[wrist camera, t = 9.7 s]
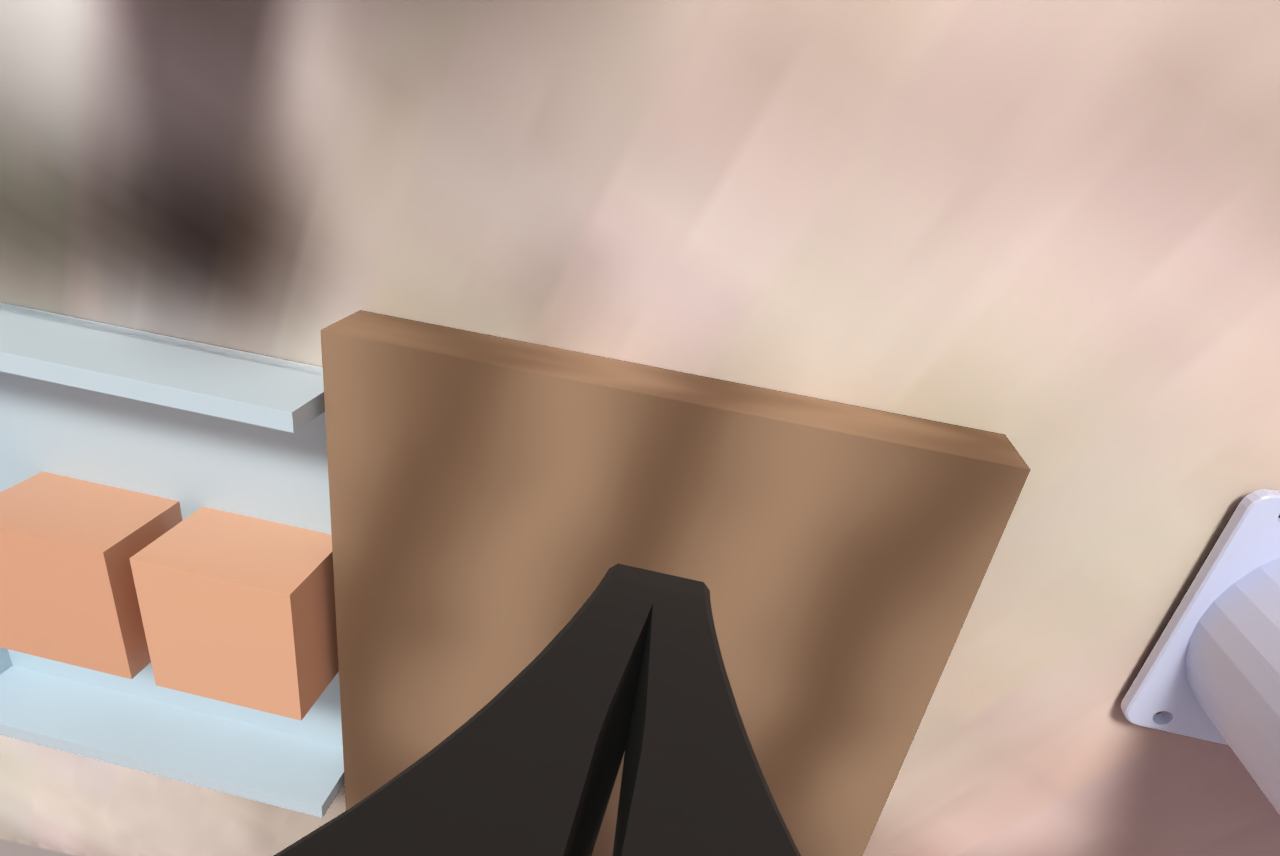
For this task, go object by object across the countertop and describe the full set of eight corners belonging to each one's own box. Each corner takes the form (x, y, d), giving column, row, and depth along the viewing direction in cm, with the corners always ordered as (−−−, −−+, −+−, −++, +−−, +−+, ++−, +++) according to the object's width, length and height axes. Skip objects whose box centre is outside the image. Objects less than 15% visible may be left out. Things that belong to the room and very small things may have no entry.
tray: (352, 373, 21) (291, 412, 18) (365, 749, 28) (322, 817, 25) (-102, 281, 22) (-221, 305, 20) (16, 662, 29) (-60, 719, 27)
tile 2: (345, 537, 23) (289, 594, 20) (351, 654, 25) (301, 720, 22) (202, 506, 23) (129, 558, 21) (220, 624, 26) (155, 685, 23)
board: (1005, 434, 19) (1030, 469, 17) (816, 897, 27) (820, 953, 26) (360, 310, 20) (320, 330, 18) (373, 785, 29) (347, 830, 27)
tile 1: (179, 501, 23) (102, 552, 21) (198, 619, 26) (131, 679, 23) (42, 471, 24) (-50, 517, 21) (72, 589, 26) (-8, 645, 23)
